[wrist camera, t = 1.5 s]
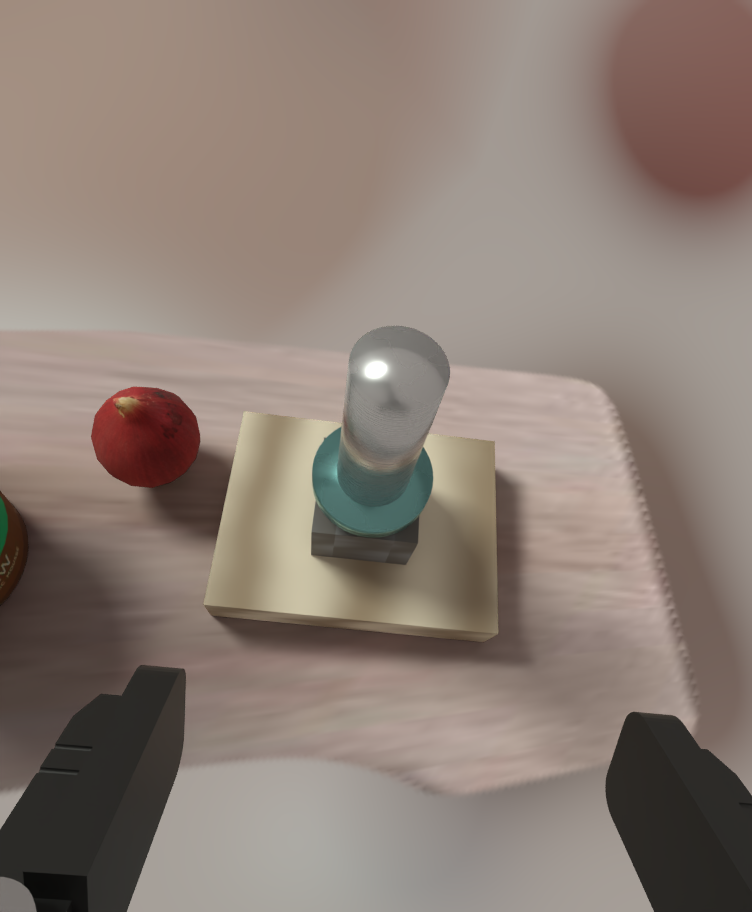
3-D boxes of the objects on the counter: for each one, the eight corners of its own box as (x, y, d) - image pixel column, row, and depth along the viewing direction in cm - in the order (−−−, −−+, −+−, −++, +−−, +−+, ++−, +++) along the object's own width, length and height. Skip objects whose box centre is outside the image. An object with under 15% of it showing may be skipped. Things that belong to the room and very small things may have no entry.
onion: (172, 409, 39) (142, 334, 32) (226, 467, 37) (208, 402, 30) (95, 461, 36) (44, 393, 29) (150, 524, 35) (110, 469, 28)
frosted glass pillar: (304, 558, 32) (303, 430, 19) (317, 462, 35) (324, 290, 21) (411, 569, 32) (484, 451, 19) (416, 473, 35) (482, 311, 22)
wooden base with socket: (211, 615, 33) (189, 586, 27) (248, 434, 38) (236, 374, 32) (483, 642, 34) (522, 620, 28) (481, 461, 39) (514, 409, 33)
